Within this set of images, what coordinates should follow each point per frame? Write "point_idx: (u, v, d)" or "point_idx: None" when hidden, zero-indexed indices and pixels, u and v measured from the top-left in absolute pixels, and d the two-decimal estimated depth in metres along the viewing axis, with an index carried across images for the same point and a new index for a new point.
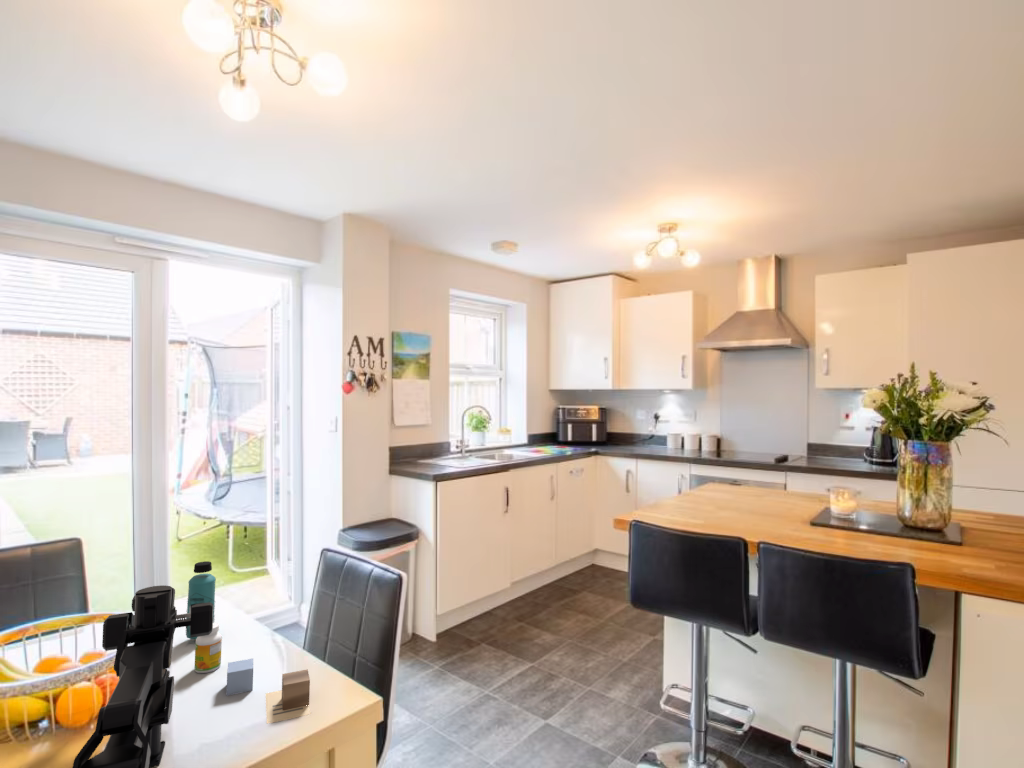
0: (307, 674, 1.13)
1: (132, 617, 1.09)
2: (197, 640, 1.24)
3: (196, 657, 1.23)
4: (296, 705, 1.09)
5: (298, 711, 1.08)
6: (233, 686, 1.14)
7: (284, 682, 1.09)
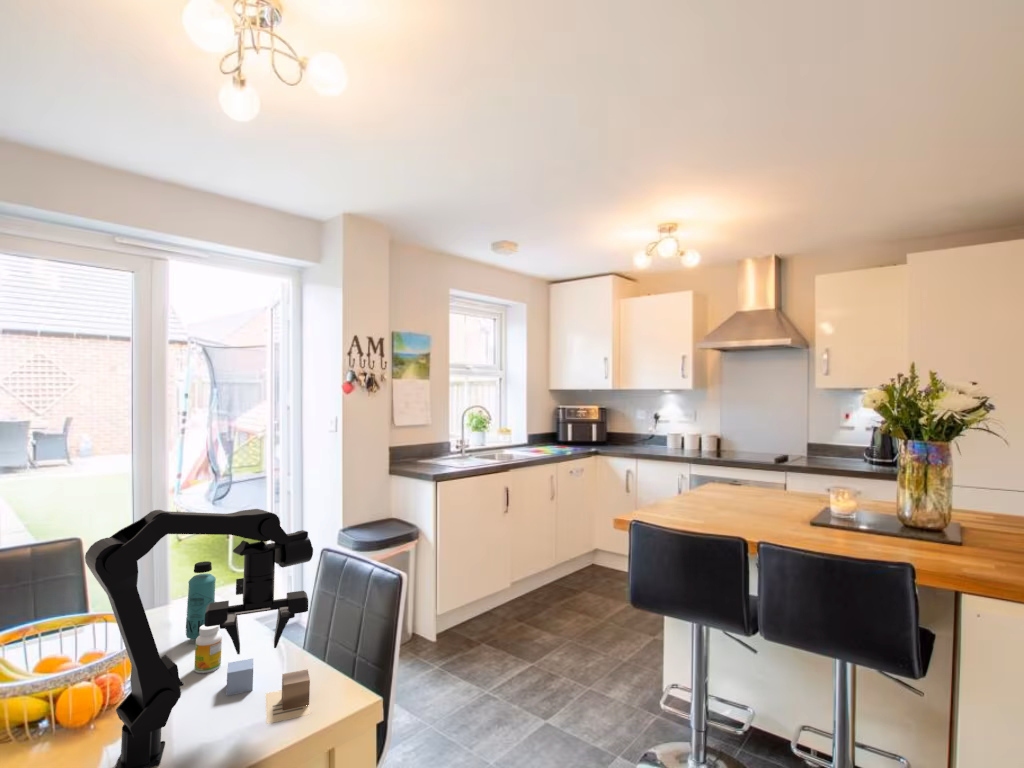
0: (307, 674, 1.13)
1: None
2: (197, 640, 1.24)
3: (196, 657, 1.23)
4: (296, 705, 1.09)
5: (298, 711, 1.08)
6: (233, 686, 1.14)
7: (284, 682, 1.09)
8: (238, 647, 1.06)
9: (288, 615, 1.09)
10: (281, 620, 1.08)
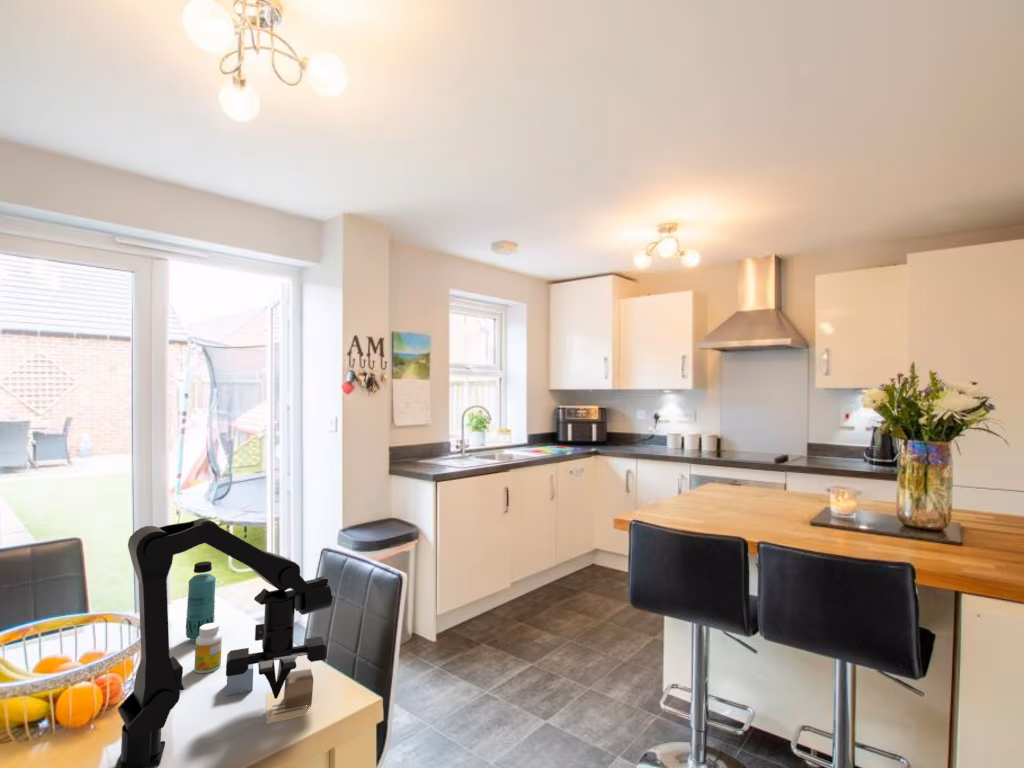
0: (310, 673, 1.13)
1: None
2: (197, 640, 1.24)
3: (196, 657, 1.23)
4: (299, 704, 1.09)
5: (298, 711, 1.08)
6: (233, 686, 1.14)
7: (288, 681, 1.10)
8: (275, 692, 1.09)
9: (289, 666, 1.09)
10: (283, 671, 1.08)
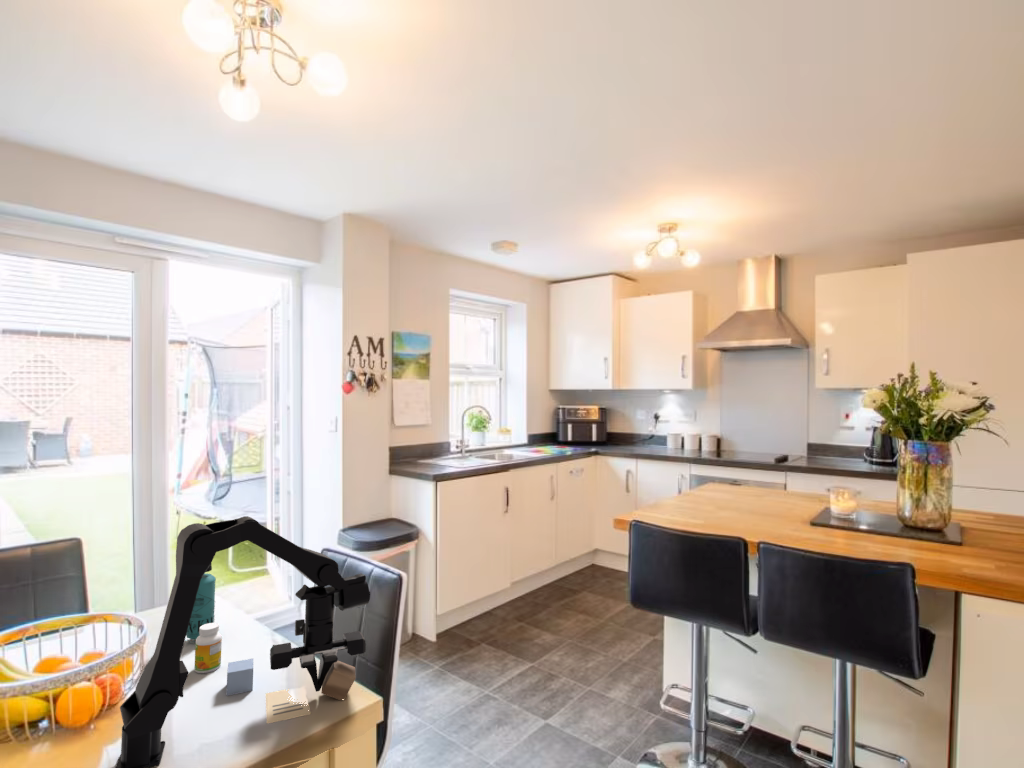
0: (354, 671, 1.15)
1: None
2: (197, 640, 1.24)
3: (196, 657, 1.23)
4: (333, 695, 1.12)
5: (298, 711, 1.08)
6: (233, 686, 1.14)
7: (334, 667, 1.13)
8: (317, 685, 1.12)
9: (331, 659, 1.13)
10: (325, 665, 1.12)
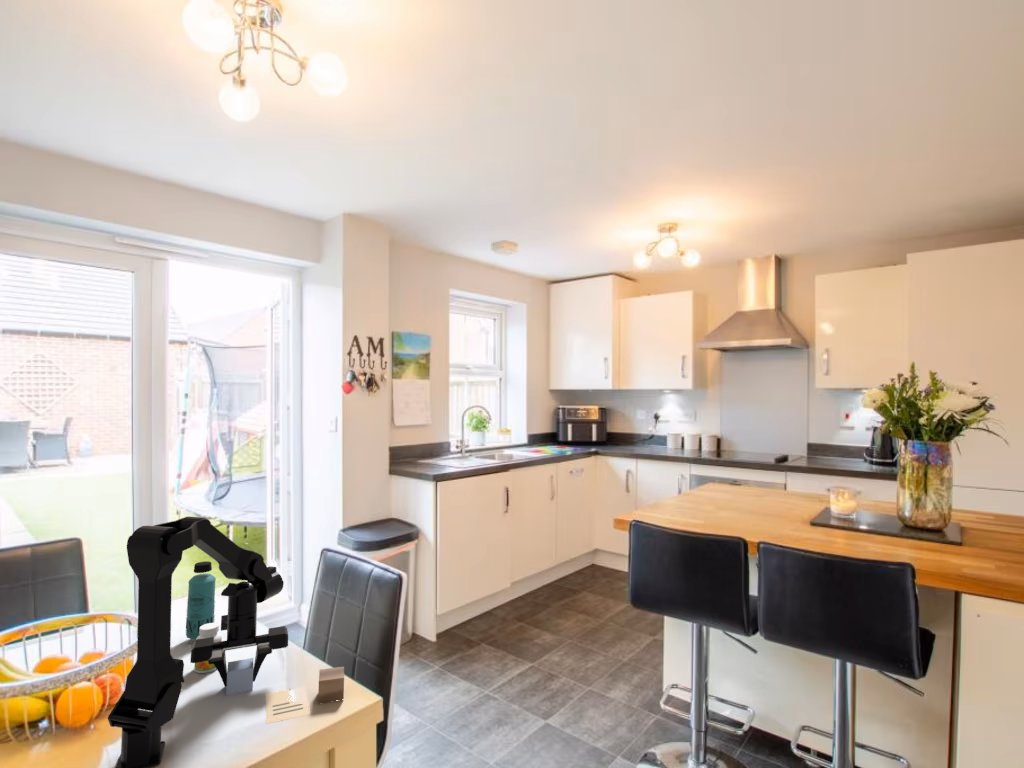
0: (342, 671, 1.15)
1: (224, 652, 1.17)
2: None
3: None
4: None
5: (298, 711, 1.08)
6: (233, 685, 1.14)
7: (320, 678, 1.12)
8: (225, 680, 1.15)
9: (265, 651, 1.17)
10: (259, 656, 1.16)
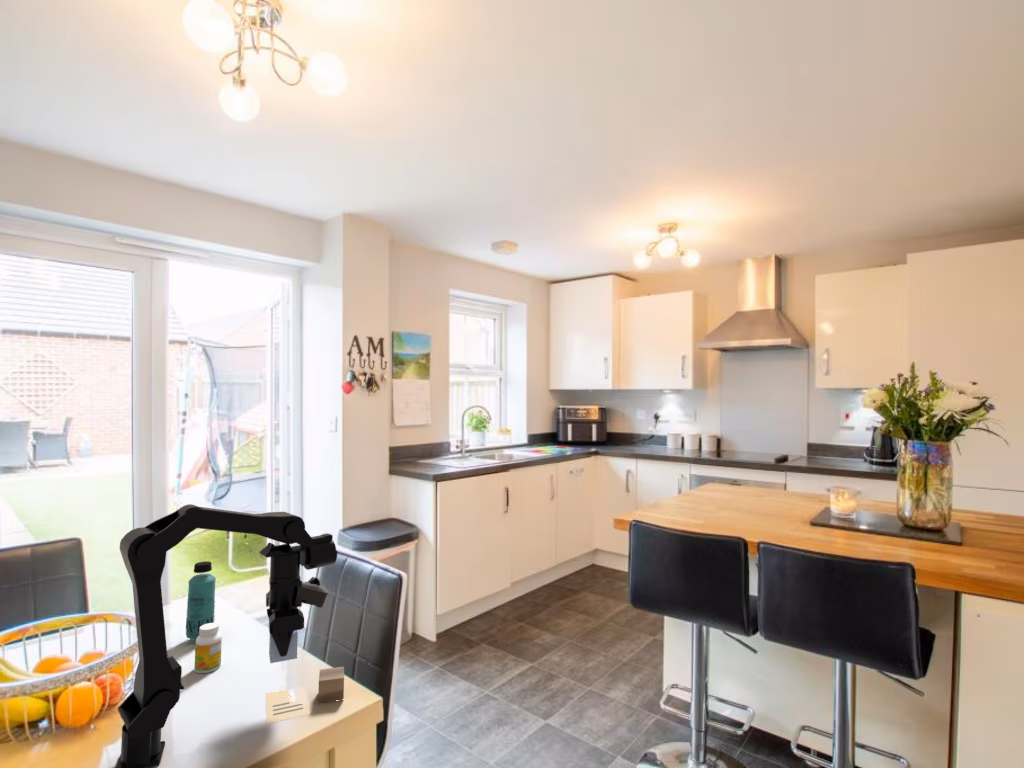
0: (342, 671, 1.15)
1: None
2: (197, 640, 1.24)
3: (196, 657, 1.23)
4: None
5: (298, 711, 1.08)
6: (269, 646, 1.11)
7: (320, 678, 1.12)
8: None
9: None
10: None
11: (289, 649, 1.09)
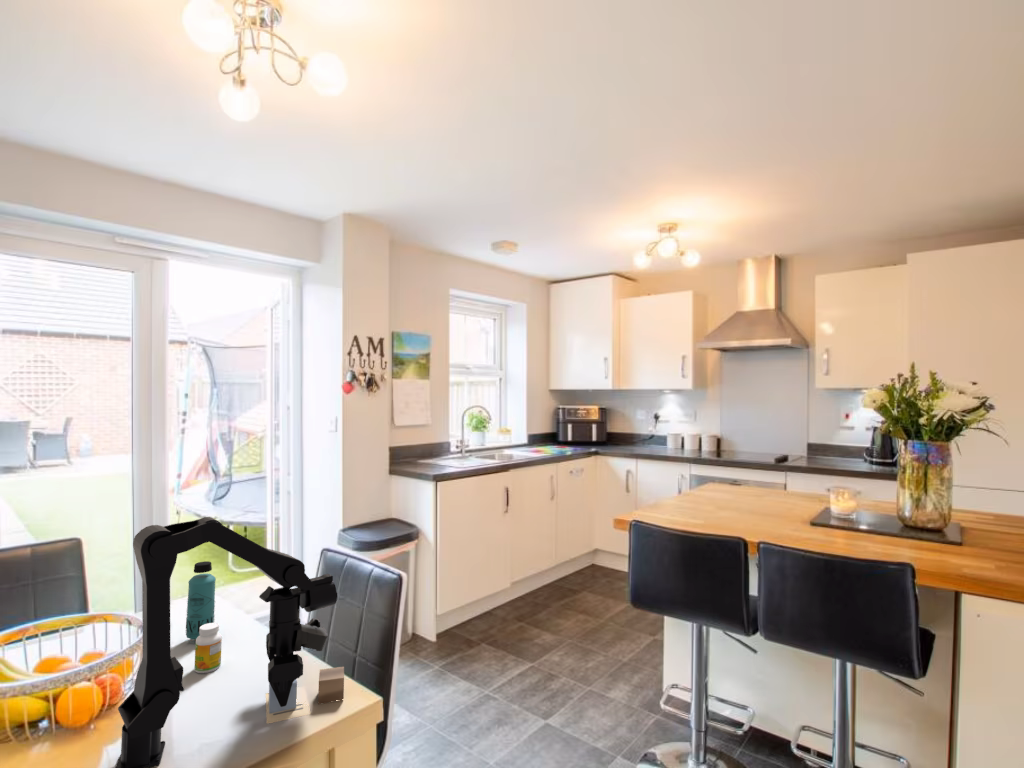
0: (342, 671, 1.15)
1: None
2: (197, 640, 1.24)
3: (196, 657, 1.23)
4: None
5: (298, 711, 1.08)
6: None
7: (320, 678, 1.12)
8: None
9: None
10: None
11: (288, 699, 1.09)
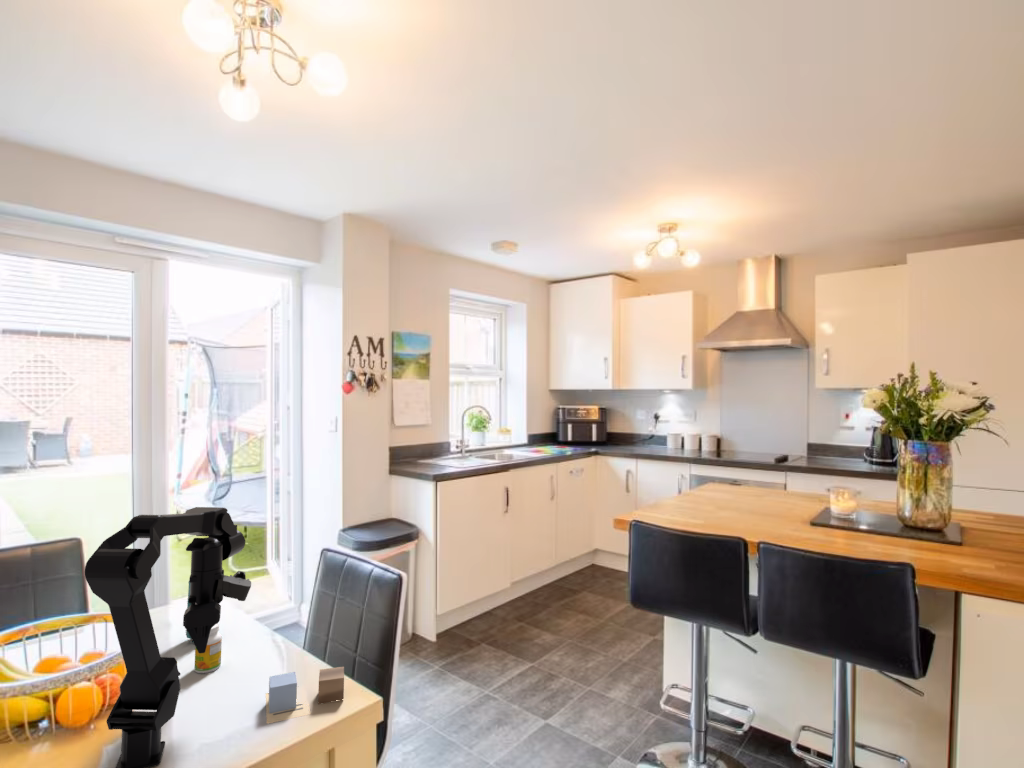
0: (342, 671, 1.15)
1: (216, 602, 1.17)
2: None
3: (196, 657, 1.23)
4: None
5: (298, 711, 1.08)
6: None
7: (320, 678, 1.12)
8: None
9: None
10: None
11: (288, 699, 1.09)
